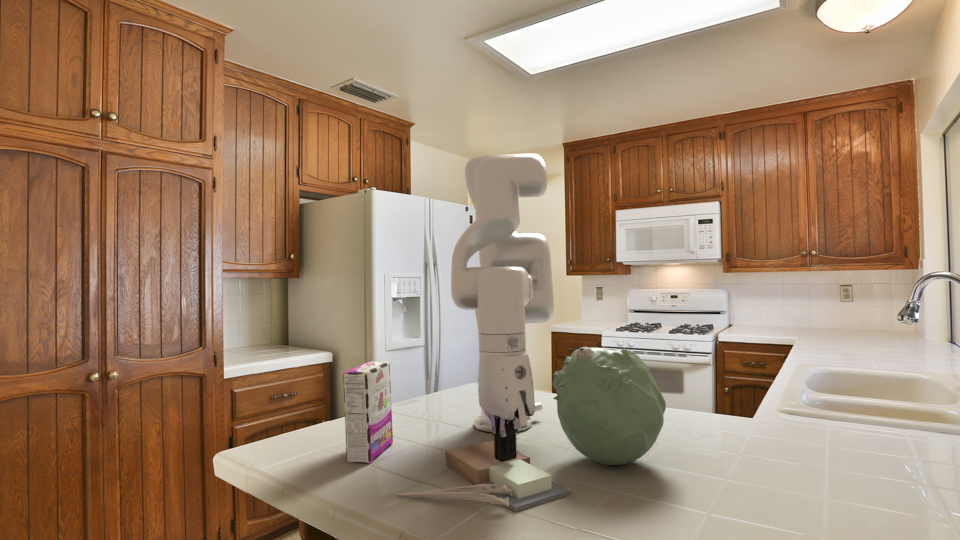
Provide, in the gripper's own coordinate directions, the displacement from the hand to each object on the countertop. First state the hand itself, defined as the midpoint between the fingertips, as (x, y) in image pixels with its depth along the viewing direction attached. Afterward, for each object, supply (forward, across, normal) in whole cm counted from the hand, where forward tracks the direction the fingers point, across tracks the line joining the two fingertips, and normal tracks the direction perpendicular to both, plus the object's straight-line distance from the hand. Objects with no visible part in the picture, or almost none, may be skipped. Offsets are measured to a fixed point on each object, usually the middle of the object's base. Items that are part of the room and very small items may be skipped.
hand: (505, 458), depth 80 cm
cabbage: (+4, -4, -19) cm, 20 cm away
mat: (+3, -5, 0) cm, 6 cm away
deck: (+3, +6, 0) cm, 7 cm away
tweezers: (+3, -2, +10) cm, 11 cm away
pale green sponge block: (+2, -4, 0) cm, 4 cm away
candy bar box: (+4, +25, +14) cm, 29 cm away
